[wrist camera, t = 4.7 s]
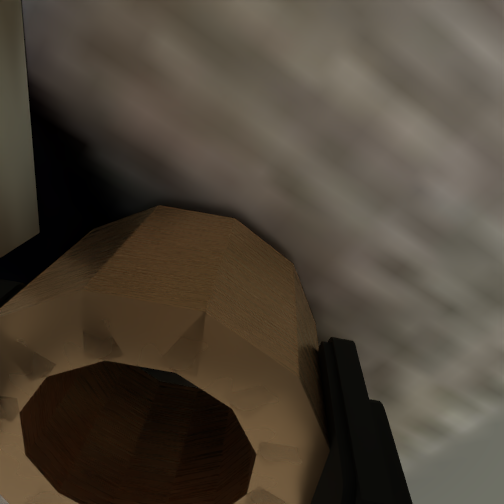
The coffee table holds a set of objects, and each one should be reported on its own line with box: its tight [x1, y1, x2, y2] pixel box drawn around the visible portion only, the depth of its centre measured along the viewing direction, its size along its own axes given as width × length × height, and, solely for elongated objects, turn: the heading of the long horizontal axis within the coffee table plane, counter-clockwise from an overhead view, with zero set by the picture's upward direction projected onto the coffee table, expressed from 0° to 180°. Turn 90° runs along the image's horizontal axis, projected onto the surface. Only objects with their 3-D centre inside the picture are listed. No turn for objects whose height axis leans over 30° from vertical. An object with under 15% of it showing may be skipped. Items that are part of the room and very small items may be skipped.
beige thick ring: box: [0, 205, 330, 504], centre depth 9 cm, size 7×7×4 cm
